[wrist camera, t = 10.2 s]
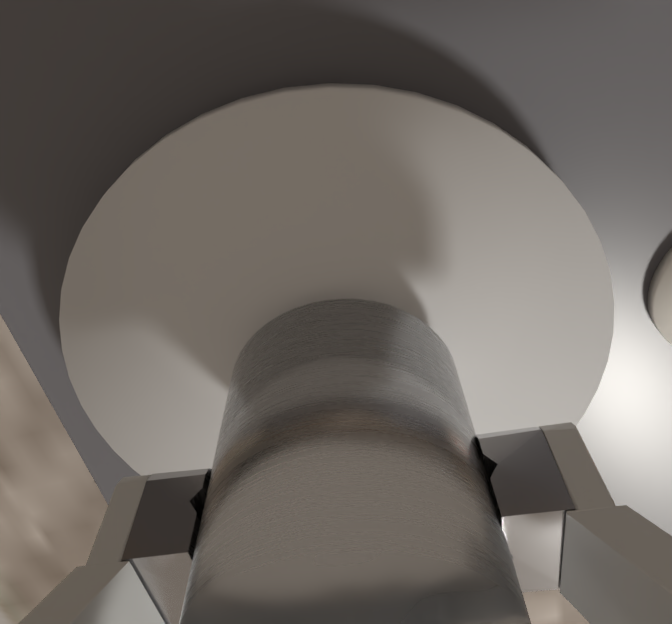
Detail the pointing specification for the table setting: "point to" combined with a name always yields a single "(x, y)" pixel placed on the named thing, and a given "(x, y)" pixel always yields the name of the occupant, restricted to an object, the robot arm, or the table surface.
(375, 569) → the cylinder
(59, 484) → the table surface
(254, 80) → the scale
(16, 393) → the table surface
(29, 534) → the table surface
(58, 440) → the table surface
